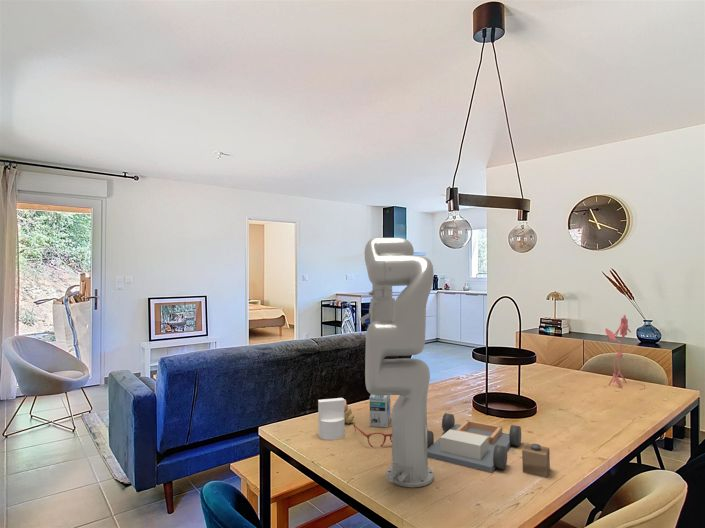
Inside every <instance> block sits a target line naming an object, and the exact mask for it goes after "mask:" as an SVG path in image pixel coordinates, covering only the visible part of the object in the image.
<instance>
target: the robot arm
mask: <svg viewBox="0 0 705 528" xmlns="http://www.w3.org/2000/svg"><path fill="white" fill-rule="evenodd" d="M414 251H415V250H414V246H413V244H412V242H410V240H408V239H406V238H403V237H372V238H370V239H369V240H368V241H367V243H366V244H365V247H364V262H365V266H366V270H367V275H368V279H369V282H370V283H371V284H372V289H371V291H368V296H371V298H370V301H369V310H368V313H367V314H365V315H363V316H362V317H360V318H359V320H360V323H361V325H363V327H364V328H365V329H366V334H365V360H364V362H365V364H364V365H365V370H364V377H365V380H364V381H365V387H366V390H367V392H368V393H369V394H370V395H371V394H372V395H377V396H382V395H390V396H398V398H397V399H396V400H395V402H394V404H393V406H392V409H391V434H392V437H391V440H392V442H391V450H392V451H391V459H392V460H391V461H392V462H391V463H392V465H390V466H389V467H388V468H387V469H386V476H385V477H386V481H387V482H389V483H393V484H394V483H395V485H398V486H400V487H406V488H421V487H425V486H427V485H429V484H432V483H433V481H434V479H435V478H434V477H435V476H434V471H433V469H432V468H430V467H429V466H428V465H429V461H428V458H429V457H428V452H427V430H428V393H429V385H430V381H431V380H430V378H431V376H430V375H431V374H430V373H431V372H430V368H429V366H428V364H427V363H426V362H425V361H423V360H421V359H419V358H413V357H412V358H411V357H410V356H415V355H419V354H421V353H422V352H423V351H424V350H425V344H426V323H427V322H426V321H427V303H428V300H429V296H430V293H431V290H432V287H433V283H434V273H435V272H434V265H433V262H432V261H431V259H429V258H428V257H426V256H423V255H414ZM396 286H397V287H398V286H400V287H401V286H406V287H404V289H402V290H401V291H400V293H399V294H398V296H396V298H394V297H393V287H396ZM366 320H368V322H369V323H368V324H367V322H366ZM399 356H400V357H402V356H403V357H404V356H406V358H386V357H399ZM407 356H409V358H407Z"/></svg>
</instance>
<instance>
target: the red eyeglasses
mask: <svg viewBox="0 0 705 528" xmlns="http://www.w3.org/2000/svg"><path fill="white" fill-rule="evenodd" d="M353 426H354V430H355V432H357V430H358V431H359V432H360V433H361V434H362V435H363V436H365V437H366V439H367V442H368V445H369V446H370V447H372V448H374V447H373V445H372V444H371V443H370V437H371V436H372V435H377V434H378V435H382V436H383V441H382V444H380V445H379V446H381V447H383V446H384V444H385V443H386V440H387V437H389V440H390V443H392V433H386V434H385V433H383V432H373V433H368V434H367V433H365V432H364V431H363V430H361V429H360V428H359V427H358V426H357V425H356V424H353Z"/></svg>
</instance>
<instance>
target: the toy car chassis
mask: <svg viewBox="0 0 705 528" xmlns="http://www.w3.org/2000/svg"><path fill="white" fill-rule="evenodd" d="M441 428H442V431H443V432H444V434H442V435H441V436H440V437H439V438H438V439H437V440H436V441H434V440H435V438H434V435H435V434H434V432H433V431H432V430H428V429H427V452H428V458H430V459H434V460H438V461H441V462H447V463H450V464H455V465H459V466H461V467H467V468H470V469H475V470H479V471H483V472H487V473H490V474H493V472H494V471H495V469H496V468H497V469H499V470H500V469H501V470H505V469H506V467H507V463H508V451H509V449H510V447H511V446H516V447H520V446H521V443H522V442H521V441H522V428H521V426H520V425H514V424H511V425H510V428H509V433H506V432H503V426H500V425H495V424H489V423H483V422H479V421H473V420H465V421H464V422H463V423H462V424H459V423H455V416H454V414H452V413H444V414H443V416H442V419H441Z"/></svg>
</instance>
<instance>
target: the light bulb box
mask: <svg viewBox="0 0 705 528" xmlns="http://www.w3.org/2000/svg"><path fill="white" fill-rule="evenodd" d="M391 420H392V409H391V395H382V396H377V395H372V394H370V396H369V427H372V428H373V427H374V428H375V427H376V428H377V427H378V428H388V427H389V424H390V422H391Z"/></svg>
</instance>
